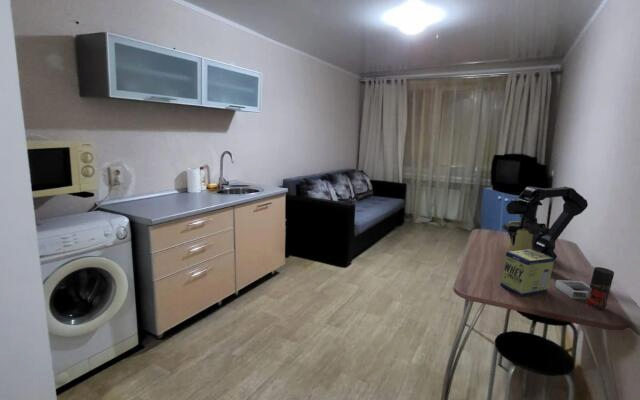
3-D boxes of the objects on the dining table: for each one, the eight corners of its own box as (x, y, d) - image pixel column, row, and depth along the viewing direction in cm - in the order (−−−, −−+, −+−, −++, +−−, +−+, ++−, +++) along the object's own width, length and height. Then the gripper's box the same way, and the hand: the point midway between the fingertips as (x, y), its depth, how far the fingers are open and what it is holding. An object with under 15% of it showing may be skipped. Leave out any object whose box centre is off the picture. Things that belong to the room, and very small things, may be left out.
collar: (555, 286, 150) (556, 279, 149) (580, 287, 150) (581, 281, 149) (572, 298, 139) (573, 291, 139) (599, 300, 139) (600, 293, 138)
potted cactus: (509, 243, 204) (518, 194, 197) (539, 251, 193) (549, 199, 187) (500, 249, 193) (510, 197, 186) (531, 257, 182) (542, 202, 176)
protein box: (499, 285, 148) (505, 251, 144) (525, 281, 153) (532, 248, 150) (520, 297, 138) (528, 261, 135) (548, 292, 144) (555, 257, 140)
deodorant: (581, 302, 137) (590, 266, 133) (595, 302, 137) (604, 267, 134) (594, 310, 131) (603, 273, 128) (609, 310, 131) (618, 273, 128)
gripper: (517, 217, 152) (511, 251, 156) (560, 220, 152) (553, 253, 155) (505, 211, 163) (499, 242, 166) (545, 213, 162) (539, 245, 166)
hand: (522, 246), depth 163 cm, fingers open, 9 cm apart
